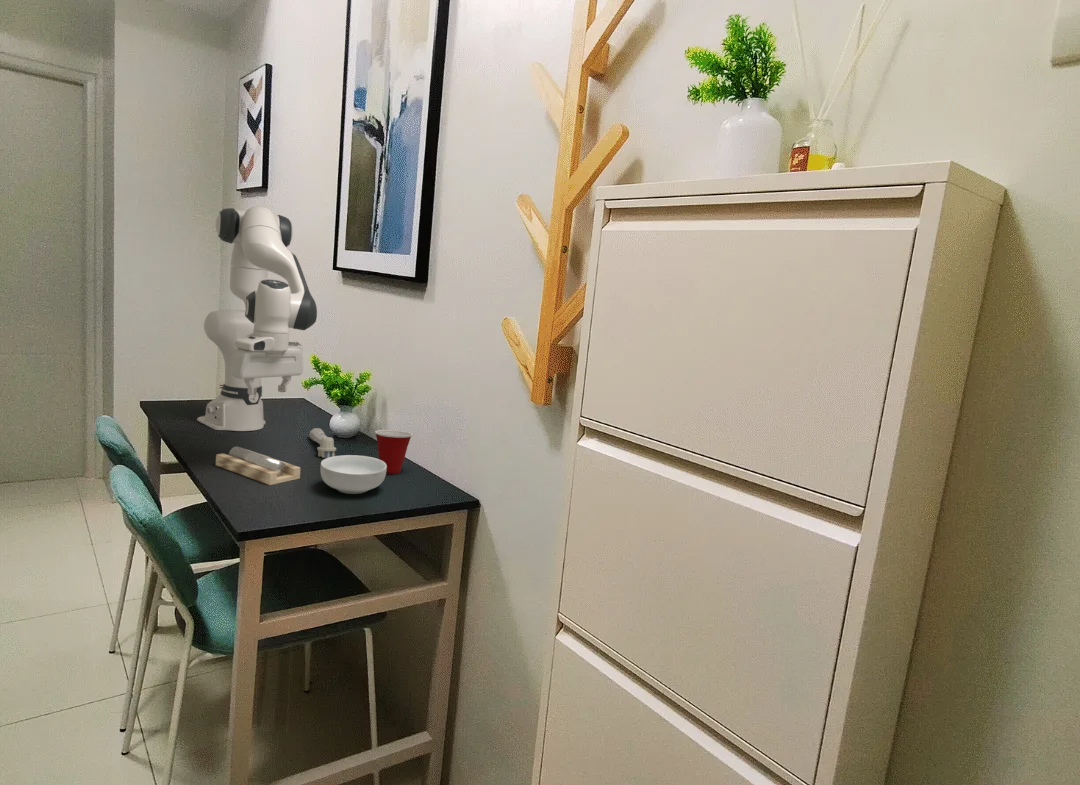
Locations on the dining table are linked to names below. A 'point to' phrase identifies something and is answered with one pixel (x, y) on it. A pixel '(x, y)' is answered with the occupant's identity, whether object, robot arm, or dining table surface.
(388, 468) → the plastic cup
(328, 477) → the cereal bowl
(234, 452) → the axle
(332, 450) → the toothbrush head
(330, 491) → the dining table surface
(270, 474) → the v block
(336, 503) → the dining table surface
